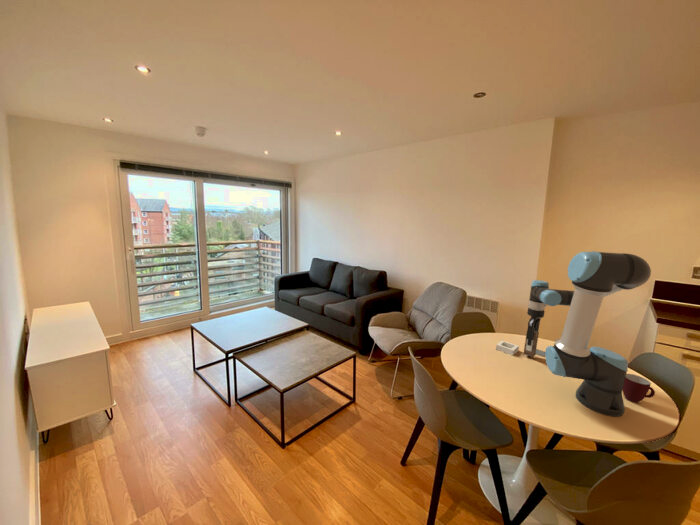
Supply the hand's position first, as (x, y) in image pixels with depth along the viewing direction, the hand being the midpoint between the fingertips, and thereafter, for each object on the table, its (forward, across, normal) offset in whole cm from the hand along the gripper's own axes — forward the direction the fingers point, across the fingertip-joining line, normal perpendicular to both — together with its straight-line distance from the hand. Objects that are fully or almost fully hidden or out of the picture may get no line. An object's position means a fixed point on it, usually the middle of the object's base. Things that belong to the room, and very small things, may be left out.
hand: (530, 349), depth 151 cm
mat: (+4, +10, -2) cm, 11 cm away
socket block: (+5, -2, +11) cm, 12 cm away
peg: (+3, 0, 0) cm, 3 cm away
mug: (+5, -6, -42) cm, 42 cm away
